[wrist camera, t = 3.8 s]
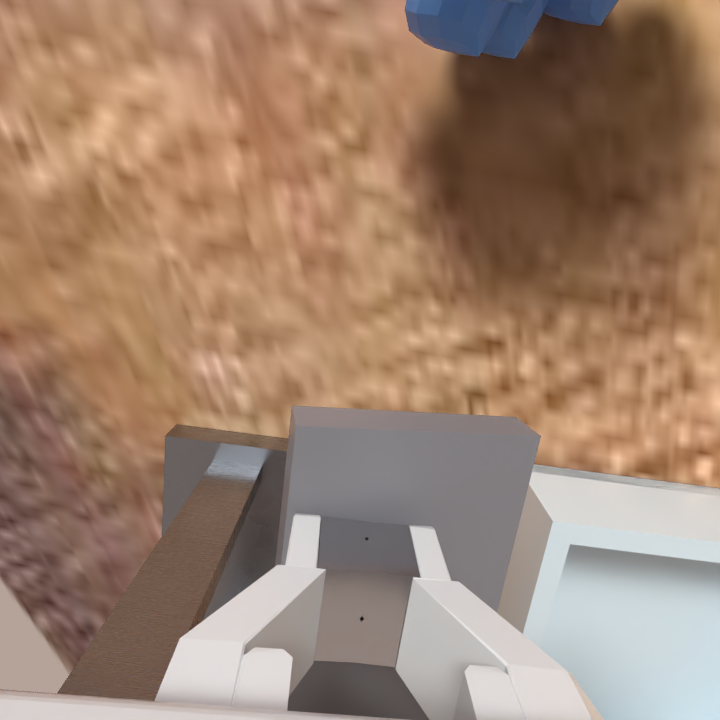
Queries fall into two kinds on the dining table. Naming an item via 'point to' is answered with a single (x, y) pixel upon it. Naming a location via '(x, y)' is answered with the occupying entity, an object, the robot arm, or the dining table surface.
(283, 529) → the tipping trough
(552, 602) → the pale blue tray
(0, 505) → the dining table surface
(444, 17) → the grapes
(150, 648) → the trough stand
